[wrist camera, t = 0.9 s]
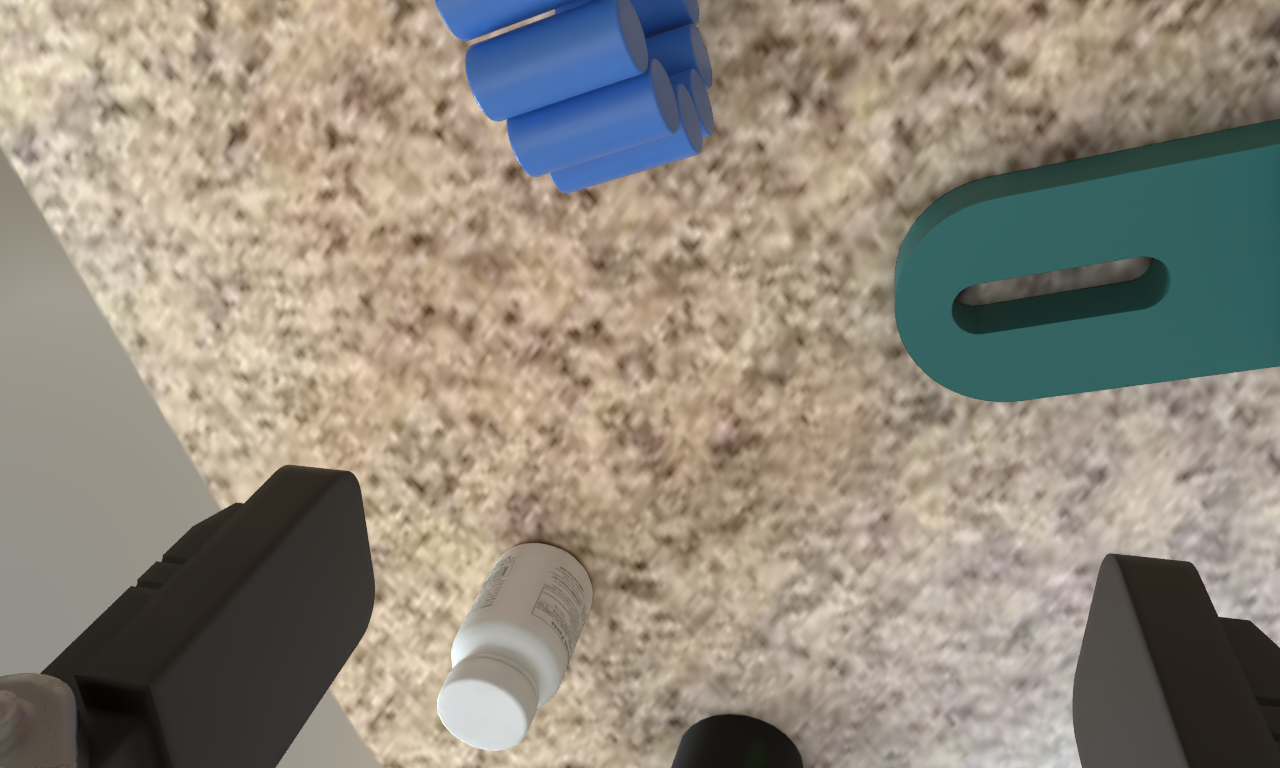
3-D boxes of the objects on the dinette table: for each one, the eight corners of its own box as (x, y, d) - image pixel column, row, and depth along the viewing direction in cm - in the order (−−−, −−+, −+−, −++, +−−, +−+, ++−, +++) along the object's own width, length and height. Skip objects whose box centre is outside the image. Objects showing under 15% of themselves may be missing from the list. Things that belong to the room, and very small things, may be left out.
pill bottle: (496, 613, 45) (427, 749, 38) (493, 531, 43) (419, 659, 36) (594, 631, 44) (541, 772, 37) (596, 548, 42) (540, 682, 35)
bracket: (1560, 63, 28) (1779, 135, 21) (1539, 294, 30) (1728, 425, 23) (878, 199, 33) (874, 291, 26) (912, 384, 36) (917, 511, 29)
